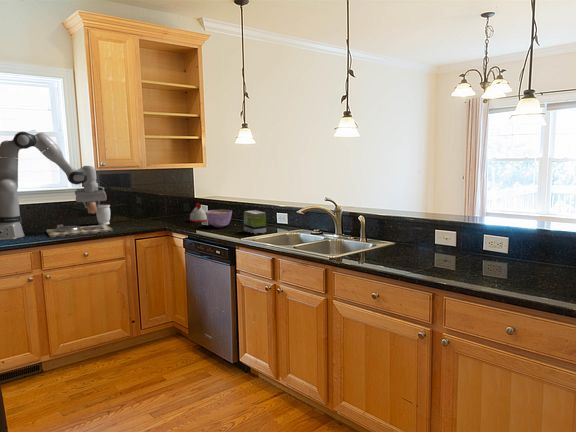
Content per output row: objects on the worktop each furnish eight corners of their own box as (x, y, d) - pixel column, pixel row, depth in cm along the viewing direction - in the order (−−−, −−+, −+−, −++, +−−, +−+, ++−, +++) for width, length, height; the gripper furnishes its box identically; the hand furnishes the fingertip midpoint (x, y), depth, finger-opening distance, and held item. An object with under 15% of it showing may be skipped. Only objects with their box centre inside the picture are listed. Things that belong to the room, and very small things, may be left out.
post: (58, 233, 300) (57, 226, 299) (55, 229, 312) (55, 223, 311) (82, 230, 308) (81, 224, 307) (78, 227, 320) (78, 221, 320)
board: (50, 237, 292) (49, 234, 292) (46, 231, 312) (46, 229, 312) (113, 231, 314) (112, 228, 314) (106, 226, 334) (105, 224, 334)
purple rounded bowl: (227, 223, 347) (226, 209, 345) (236, 227, 330) (236, 212, 328) (202, 225, 338) (202, 210, 336) (210, 229, 320) (210, 214, 319)
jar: (93, 224, 343) (92, 205, 341) (104, 222, 352) (103, 204, 350) (103, 225, 338) (102, 206, 336) (114, 223, 348) (112, 204, 345)
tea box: (243, 231, 313) (243, 211, 311) (255, 230, 319) (255, 209, 317) (254, 234, 301) (254, 213, 299) (266, 233, 307) (266, 212, 305)
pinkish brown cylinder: (98, 213, 313) (96, 201, 312) (89, 214, 310) (87, 202, 309) (96, 211, 320) (95, 200, 319) (87, 212, 317) (86, 201, 316)
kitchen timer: (193, 223, 351) (192, 204, 348) (187, 220, 362) (186, 202, 360) (209, 221, 358) (209, 203, 356) (203, 219, 370) (202, 201, 367)
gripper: (75, 189, 305) (76, 209, 307) (106, 188, 316) (107, 207, 319) (74, 188, 311) (75, 208, 313) (104, 187, 322) (105, 206, 324)
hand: (91, 207), depth 316 cm, fingers closed on pinkish brown cylinder, 6 cm apart
